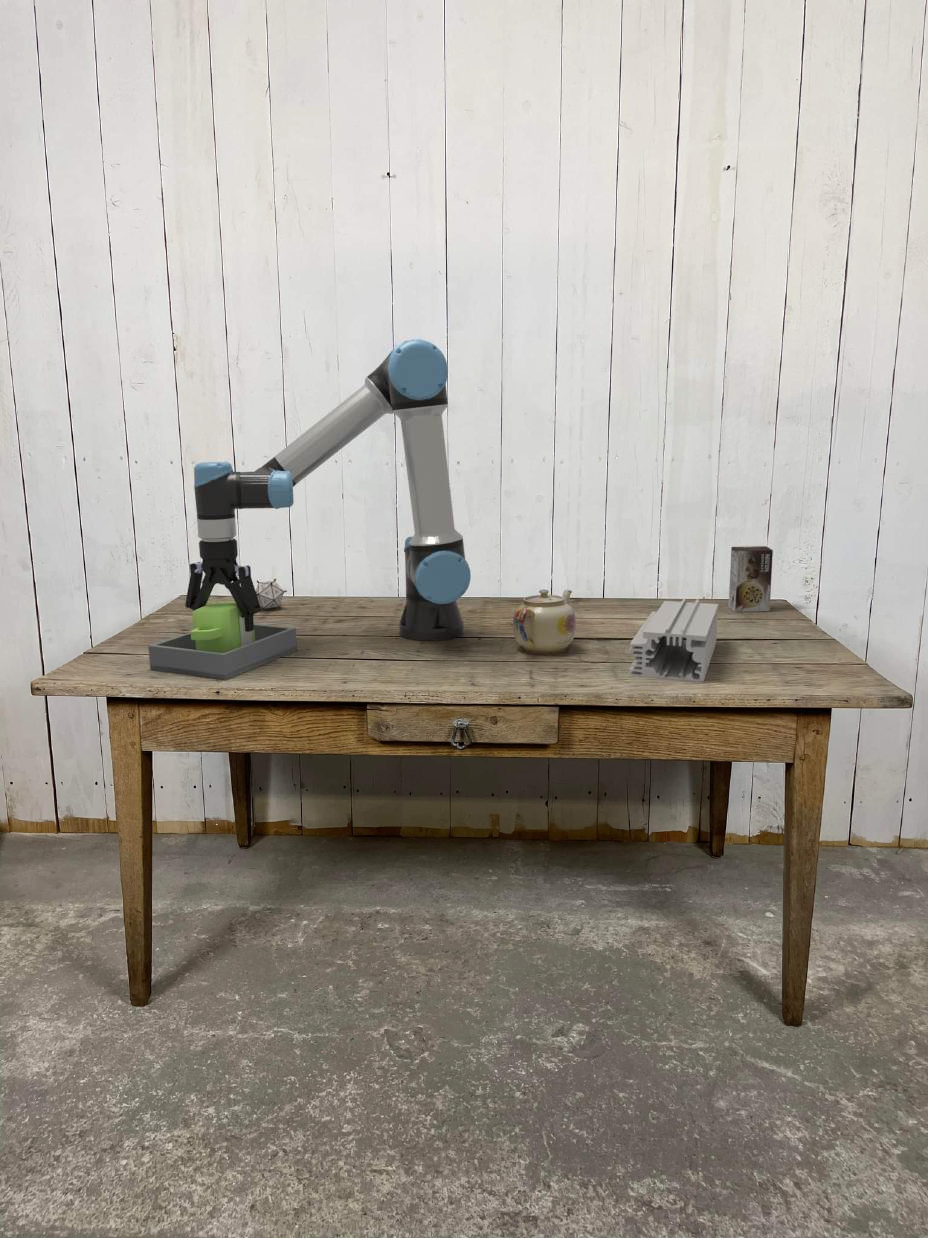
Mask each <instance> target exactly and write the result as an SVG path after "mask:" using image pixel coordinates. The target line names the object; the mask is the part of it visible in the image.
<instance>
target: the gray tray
mask: <svg viewBox="0 0 928 1238" xmlns="http://www.w3.org/2000/svg"><path fill="white" fill-rule="evenodd" d="M254 632H255V642H252V643H249V644H247V645H244V646H241V647H239V648H236V649H233V650H231V651H228V652H225V653H216V652H208V651H200V650H196V642H195V640H191V633H190V632H187V633H184V634H181V635H177V636H174V637H171V638H168V639H165V640H162V641H159V642H156V643H153V644H149V645H147V649H148V658H149V669H150V670H151V671H159V672H164V673H172V674H173V673H175V674H181V675H188V676H195V677H200V678H201V677H202V678H210V679H217V680H225V681H226V680H230V679H232V678H234V677H236V676H239V675H241V674H243V673H247V672H248V671H250V670H253V669H256V668H258V667H260V666H262V665H265V664H267V663H270V662H272V661H275V660H277V659H279V658H282V657H285V656H287V655H289V654H291V652H292V653H295V652H296V650H297V651H298V645H297V644H298V642H297V641H298V640H297V629H296V627H290V626H281V625H279V626H277V625H270V624H259V623H254ZM288 653H289V654H288Z"/></svg>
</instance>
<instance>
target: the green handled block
mask: <svg viewBox="0 0 928 1238" xmlns="http://www.w3.org/2000/svg"><path fill="white" fill-rule="evenodd" d="M246 610H247V609H246ZM191 613H192V622H193V629H192V630H190V633H191V640H195V642H196V650H200V651H208V652H216V653H225V652H228V651H231V650H233V649H236V648H239V647H241V635H240V621H239V617H240V616H241V615H242V613H241V611H240V609H239V608H238V606H237V604H236V602H235V600H231V601H230V600H229V601H217V602H216V601H215V602H211V603H210V604H206V606H203V607H201V608H199V609H197V610H194V611H193V610H192V612H191ZM252 642H255V632H254V630H253V631H252Z"/></svg>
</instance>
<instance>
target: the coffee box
mask: <svg viewBox="0 0 928 1238" xmlns="http://www.w3.org/2000/svg"><path fill="white" fill-rule="evenodd" d="M730 551H731V552H730V571H729V572H730V573H729V591H728V592H729V593H728V594H729V595H728V608H729V609H731V610H732V611H733V612H735V613H741V612H742V613H743V612H744V613H746V612H748V613H749V612H750V613H751V612H754V613H755V612H770V611H771V592H772V589H771V588H772V576H773V575H772V573H773V572H772V569H773V556H774V555H773V553H774V550H773V549H772V548H771V547H769V546H766V545H765V546H763V545H762V546H760V545H759V546H758V545H757V546H731V550H730Z"/></svg>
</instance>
